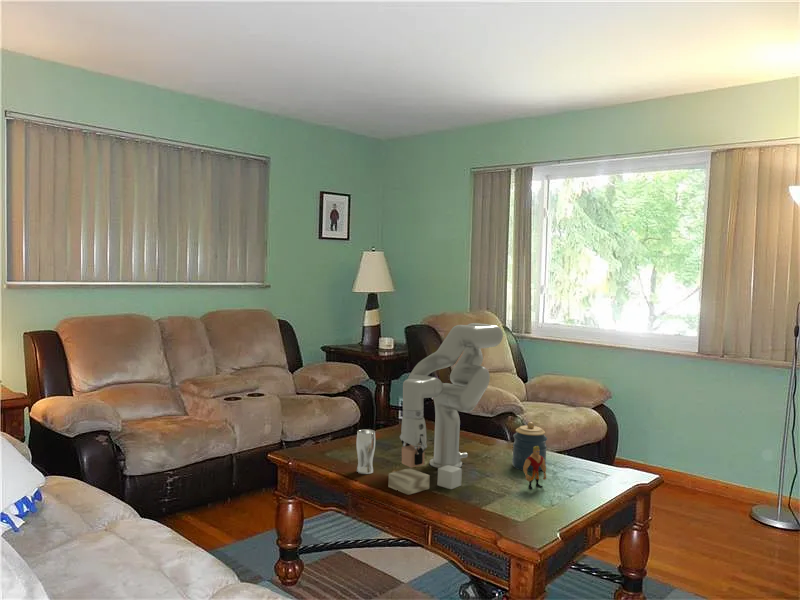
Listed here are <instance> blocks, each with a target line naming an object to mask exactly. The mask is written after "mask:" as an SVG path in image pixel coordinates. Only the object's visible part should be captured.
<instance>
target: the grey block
mask: <svg viewBox="0 0 800 600" xmlns="http://www.w3.org/2000/svg"><path fill="white" fill-rule="evenodd" d="M462 474H463V468H461V467H460V468H457V467H454V466H450V465H446V466H444V467H441V468H437V486H439V487H442V488H445V489H449V490H453V489H456V488H458V487H461V486H462V477H463V475H462Z"/></svg>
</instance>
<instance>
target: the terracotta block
mask: <svg viewBox="0 0 800 600" xmlns="http://www.w3.org/2000/svg"><path fill="white" fill-rule="evenodd" d="M419 449H420V447H418V450H419ZM415 454H416V452H415V447H414V446H413V445H409V446H405V447H403V446H401V465H402V464H403V465H404V466H407V467H408V468H411V469H413V468H416V467H419V466H424V465H425V459H426V457H425V454H426V453H425V451H424V453H423V463H422V464H419V465H415Z"/></svg>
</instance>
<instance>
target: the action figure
mask: <svg viewBox="0 0 800 600" xmlns="http://www.w3.org/2000/svg"><path fill="white" fill-rule="evenodd" d="M533 452H534V453H533V454H531V456H529V457H528V458H527V459H526V461H525V463H524V466H523V470H522V471H523V473H524V475H525V480H526V481H527V482H528V488H529V489H530V490H533V486H532V483H533V481H534V479H535V487H539V488H541V487H543V488H544V486H543V485H540V484H539V481H540V477H539V472H540V471H538V469H539V466H541V469H542V472H543V476H544V477H543V478H542V480H544V481H545V480H546V479H547V473H546V472H547V464H546V465H545V460H544V458H543V457H542V456H540V455H539V453H540V450H539V446H535V447H533ZM530 465H531V466H532V467H533V471H532V473H531V474H532V475H529V474H528V471H527V469H528V467H529V466H530Z"/></svg>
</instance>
